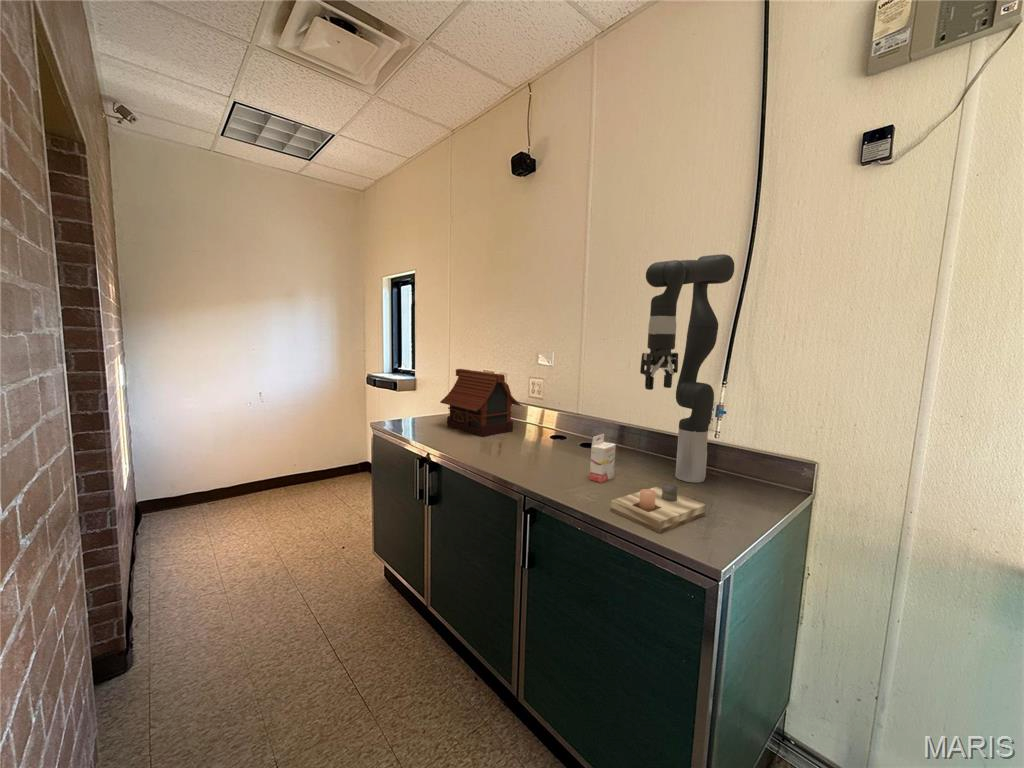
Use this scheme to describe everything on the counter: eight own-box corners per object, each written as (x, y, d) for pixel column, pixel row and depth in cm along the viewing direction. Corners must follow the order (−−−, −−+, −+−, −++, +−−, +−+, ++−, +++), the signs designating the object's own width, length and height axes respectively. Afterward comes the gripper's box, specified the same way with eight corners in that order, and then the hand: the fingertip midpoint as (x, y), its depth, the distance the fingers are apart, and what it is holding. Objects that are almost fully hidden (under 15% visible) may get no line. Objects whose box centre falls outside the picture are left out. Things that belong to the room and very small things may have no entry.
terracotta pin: (644, 508, 118) (646, 488, 117) (657, 514, 115) (659, 492, 114) (635, 512, 116) (637, 490, 115) (648, 517, 113) (649, 495, 112)
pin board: (655, 496, 130) (657, 473, 130) (705, 515, 117) (707, 490, 117) (610, 510, 119) (611, 486, 118) (659, 533, 106) (661, 506, 105)
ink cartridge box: (602, 483, 141) (604, 439, 139) (589, 480, 144) (591, 437, 142) (614, 477, 147) (616, 435, 146) (601, 473, 150) (603, 432, 149)
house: (522, 431, 213) (524, 373, 210) (477, 439, 194) (478, 376, 191) (479, 419, 239) (479, 367, 235) (435, 426, 220) (435, 369, 216)
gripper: (665, 332, 131) (662, 385, 133) (635, 332, 122) (632, 388, 124) (688, 333, 124) (684, 388, 126) (657, 332, 116) (653, 391, 118)
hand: (658, 388), depth 125 cm, fingers open, 8 cm apart
